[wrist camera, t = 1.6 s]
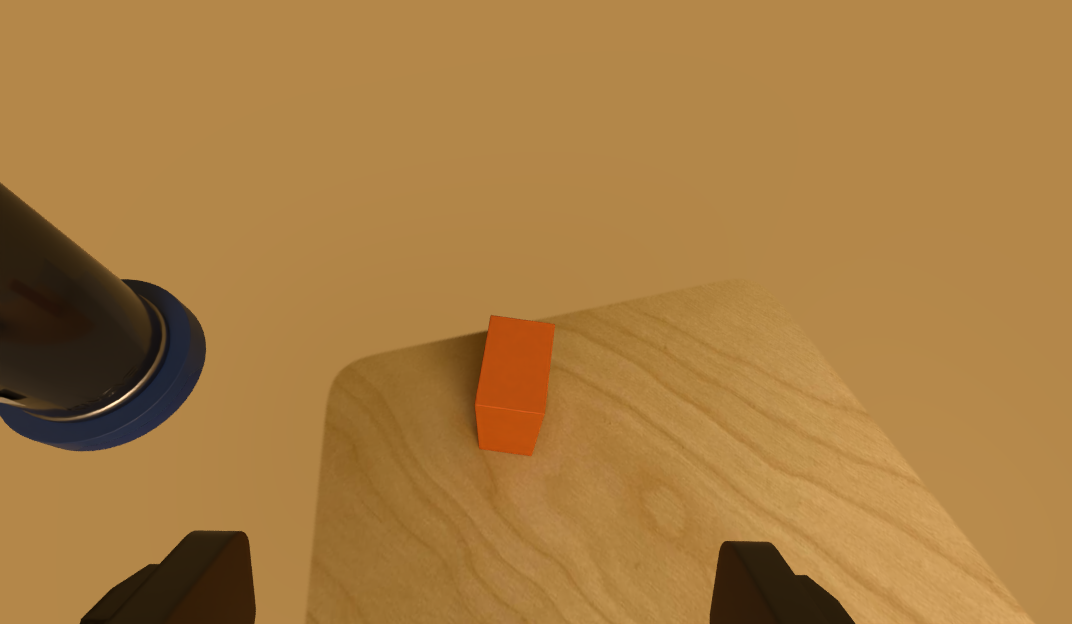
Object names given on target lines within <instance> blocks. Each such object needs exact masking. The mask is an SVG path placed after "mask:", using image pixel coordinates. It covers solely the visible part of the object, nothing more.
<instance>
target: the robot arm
mask: <svg viewBox="0 0 1072 624" xmlns="http://www.w3.org/2000/svg"><path fill="white" fill-rule="evenodd" d="M169 346H170V331H169V326H168V323H167V321H166V318H165V317H164V315H163V314H162V312H161V311H160V310H159V309H158V308H157V307H156V306H155V305H154V304H152V303H151V302H150V301H149V300H147V299H146V298H144V297H143V296H141V295H139V294H137V293H136V292H135V291H134V290H132V289H131V288H130V287H129V286H127V285H126V284H125V283H124V282H123V281H121V280H120V279H119V278H118V277H117V276H115V275H114V274H113V273H112V272H110V271H109V270H108V269H107V268H106V267H104V266H103V265H102V264H101V263H99V262H98V261H97V260H96V259H94V258H93V257H92V256H91V255H89V254H88V253H87V252H86V251H84V250H83V249H82V248H81V247H80V246H78V245H77V244H76V243H75V242H73V241H72V240H71V239H70V238H68V237H67V236H66V235H64V234H63V233H62V232H61V231H60V230H58V229H57V228H56V227H54V226H53V225H52V224H51V223H50V222H48V221H47V220H46V219H44V218H43V217H42V216H41V215H40V214H39V213H37V212H36V211H35V210H34V209H32V208H31V207H30V206H29V205H27V204H26V203H25V202H23V201H22V200H21V199H20V198H19V197H17V196H16V195H15V194H14V193H13V192H11V191H10V190H9V189H8V188H6V187H5V186H4V185H3V184H1V183H0V402H1V403H4V404H7V405H10V406H13V407H15V408H18V409H21V410H23V411H25V412H26V413H28V414H30V415H33V416H35V417H38V418H41V419H43V420H47V421H50V422H56V423H79V422H85V421H90V420H93V419H97V418H100V417H103V416H105V415H108V414H110V413H112V412H114V411H116V410H118V409H120V408H122V407H123V406H125V405H127V404H128V403H129V402H131V401H132V400H134V399H135V398H136V397H137V396H139V395H140V394H141V393H142V392H143V391H144V390H145V389H146V388H147V387H148V386H149V385H150V384H151V383H152V381H153V380H154V379H155V378H156V376H157V375H158V373H159V372H160V370H161V368H162V366H163V364H164V362H165V360H166V357H167V354H168V351H169ZM255 612H256V607H255V595H254V586H253V576H252V566H251V557H250V547H249V540H248V537H247V535H246V534H245V533H244V532H242V531H193V532H191V533H189V534H188V535H187V536H186V537H184V539H183V540H182V541H181V542H180V543H179V544H178V545H177V546H176V547H175V548H174V549H173V550H172V551H171V552H170V554H169V555H168V556H167V557H166V558H165V559H164V560H163V561H162V562H161V563H160V564H149V565H147V566H146V567H144V568H143V569H141V570H140V571H138V572H137V573H135V574H134V575H132V576H131V577H129V578H127V579H126V580H124V581H123V582H121V583H120V584H118V585H116V586H115V587H113V588H112V589H111V590H110V591H109V592H108V593H107V594H106V595H105V596H104V597H103V598H102V599H101V600H100V601H99V602H98V603H97V604H96V605H95V606H94V607H93V608H92V609H91V610H90V611H89V612H88V613H87V614H86V615H85V616H84V617H83V618H82V619H81V622H80V624H254V622H255V615H256V613H255ZM710 624H855V622H854V621H853V620H852V618H851V617H850V616H849V615H848V613H847V612H846V611H845V609H844V608H843V607H842V605H841V604H840V603H839V601H838V600H837V599H836V598H834V597H833V596H832V595H831V594H829V593H828V592H827V591H826V590H824V589H823V588H822V587H821V586H819V585H818V584H817V583H816V582H814V581H813V580H812V579H811V578H809V577H808V576H807V575H795V574H794V573H793V571H792V570H791V568H790V567H789V566H788V564H787V563H786V561H785V560H784V558H783V557H782V556H781V554H780V553H779V551H778V550H777V549H776V547H775V546H774V545H773V544H772V543H770V542H750V541H725V542H723V543H722V545H721V548H720V551H719V557H718V564H717V570H716V577H715V584H714V590H713V597H712V603H711V610H710Z"/></svg>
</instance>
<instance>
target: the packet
mask: <svg viewBox="0 0 1072 624" xmlns="http://www.w3.org/2000/svg"><path fill="white" fill-rule="evenodd" d="M554 329H555V324H550V323H543V322H536V321H528V320H521V319H514V318H507V317H500V316H493V315H491V317H490V322H489V328H488V333H487V339H486V344H485V350H484V355H483V361H482V366H481V372H480V377H479V383H478V388H477V394H476V399H475V413H476V422H477V432H478V441H479V449H484V450H491V451H498V452H506V453H513V454H520V455H527V456H532V453H533V450H534V447H535V444H536V440H537V437H538V434H539V431H540V427H541V424H542V421H543V418H544V414H545V406H546V398H547V389H548V381H549V372H550V363H551V355H552V346H553V337H554Z"/></svg>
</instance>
